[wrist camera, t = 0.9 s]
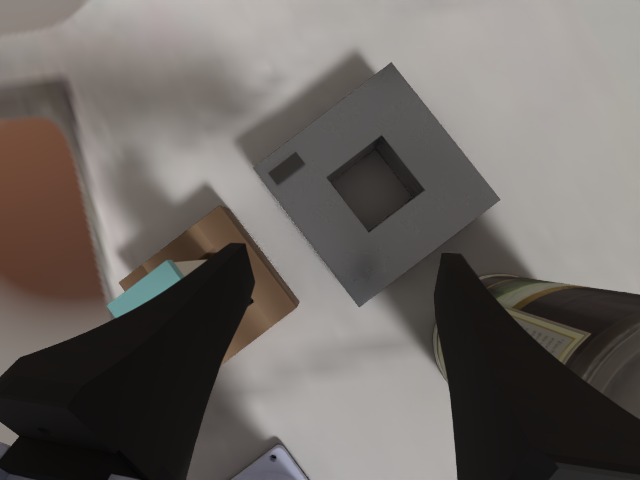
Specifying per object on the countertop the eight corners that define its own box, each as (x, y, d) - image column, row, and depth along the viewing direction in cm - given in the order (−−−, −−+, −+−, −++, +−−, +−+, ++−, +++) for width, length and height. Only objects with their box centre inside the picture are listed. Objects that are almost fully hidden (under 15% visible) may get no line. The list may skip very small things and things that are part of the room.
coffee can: (505, 245, 25) (736, 239, 11) (596, 349, 24) (960, 486, 10) (402, 332, 25) (499, 440, 11) (492, 438, 24) (713, 693, 10)
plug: (213, 324, 25) (150, 366, 16) (185, 285, 25) (106, 305, 16) (252, 295, 25) (211, 320, 16) (223, 256, 25) (166, 260, 16)
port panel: (355, 300, 25) (359, 308, 22) (262, 177, 25) (252, 166, 22) (479, 205, 25) (502, 199, 22) (383, 84, 25) (392, 59, 22)
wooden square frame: (207, 372, 25) (193, 386, 23) (139, 279, 26) (118, 282, 23) (299, 301, 25) (296, 307, 23) (230, 209, 25) (219, 205, 23)
